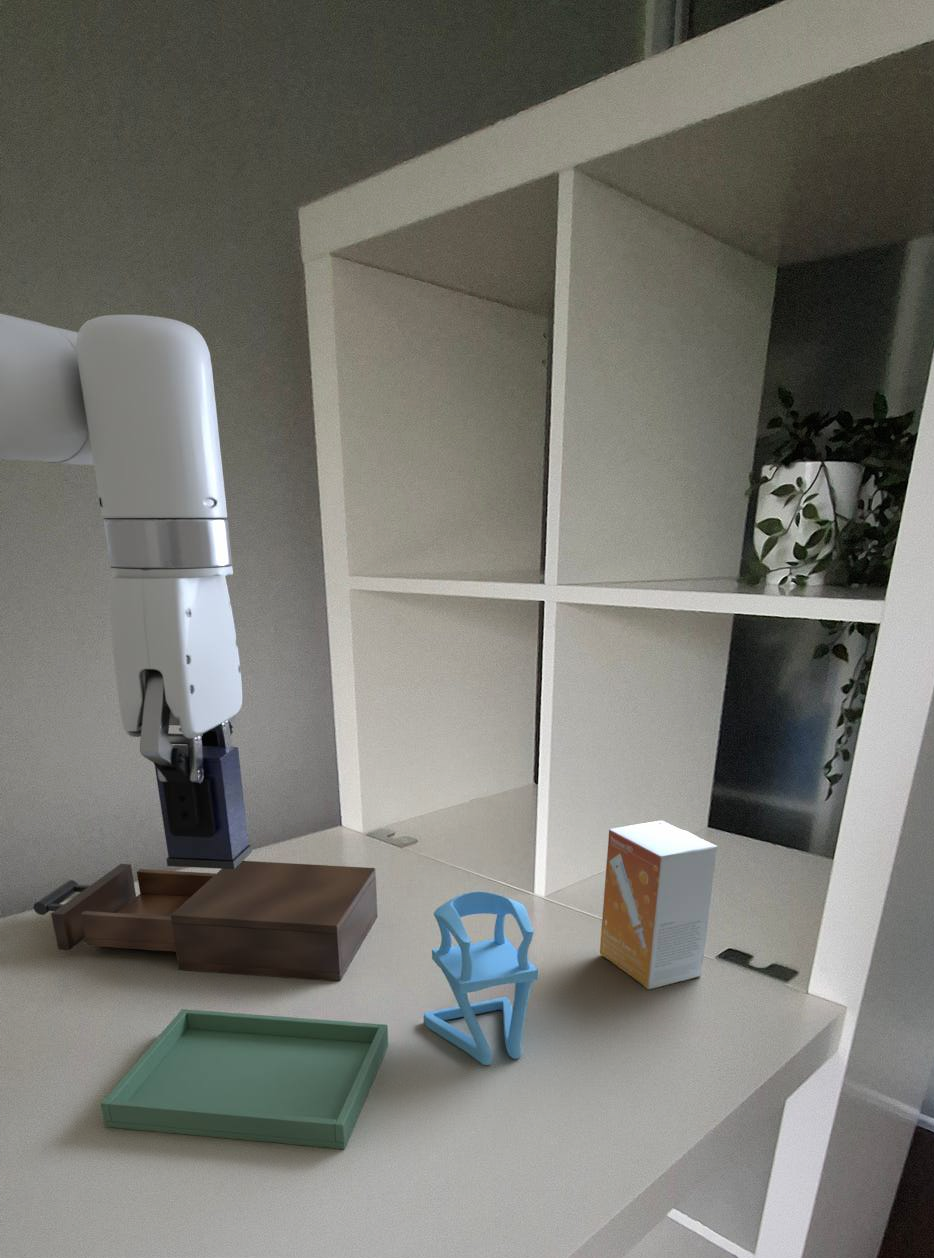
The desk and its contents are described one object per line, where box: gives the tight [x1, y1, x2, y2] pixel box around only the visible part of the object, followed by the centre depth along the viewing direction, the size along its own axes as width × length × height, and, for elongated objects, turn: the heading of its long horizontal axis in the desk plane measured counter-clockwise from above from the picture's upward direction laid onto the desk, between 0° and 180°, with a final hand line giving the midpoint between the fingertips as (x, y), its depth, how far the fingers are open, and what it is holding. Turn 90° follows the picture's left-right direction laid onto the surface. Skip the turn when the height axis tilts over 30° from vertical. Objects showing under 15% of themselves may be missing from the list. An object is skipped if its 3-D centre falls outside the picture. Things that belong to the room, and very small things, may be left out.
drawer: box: [32, 863, 217, 953], centre depth 91 cm, size 19×13×4 cm
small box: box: [599, 820, 718, 990], centre depth 83 cm, size 8×6×13 cm
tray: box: [100, 1008, 389, 1150], centre depth 68 cm, size 17×13×2 cm
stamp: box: [154, 744, 252, 870], centre depth 65 cm, size 5×4×8 cm
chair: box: [423, 890, 539, 1066], centre depth 72 cm, size 8×8×12 cm
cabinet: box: [171, 860, 378, 982], centre depth 89 cm, size 16×15×6 cm
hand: (205, 823), depth 65 cm, fingers closed on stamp, 3 cm apart
